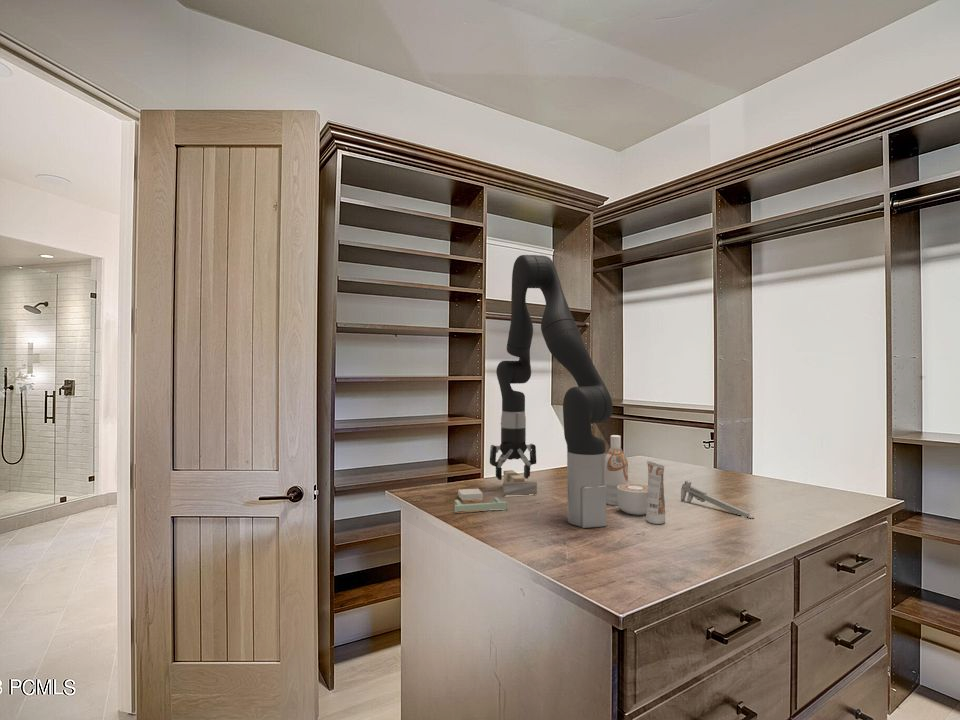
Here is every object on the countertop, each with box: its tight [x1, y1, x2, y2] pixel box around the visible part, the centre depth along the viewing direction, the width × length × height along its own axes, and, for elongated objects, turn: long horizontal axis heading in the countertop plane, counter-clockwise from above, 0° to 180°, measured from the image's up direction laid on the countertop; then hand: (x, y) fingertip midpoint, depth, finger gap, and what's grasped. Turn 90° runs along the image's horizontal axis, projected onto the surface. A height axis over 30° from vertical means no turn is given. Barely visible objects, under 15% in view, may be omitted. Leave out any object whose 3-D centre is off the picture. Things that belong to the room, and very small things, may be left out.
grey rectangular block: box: [502, 470, 538, 496], centre depth 159 cm, size 13×10×5 cm
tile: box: [457, 488, 484, 500], centre depth 149 cm, size 6×6×2 cm
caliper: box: [680, 480, 754, 519], centre depth 138 cm, size 20×1×6 cm, turn 33°
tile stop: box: [454, 496, 508, 513], centre depth 139 cm, size 6×14×2 cm, turn 103°
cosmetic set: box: [605, 434, 666, 525], centre depth 136 cm, size 25×9×19 cm, turn 16°
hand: (513, 478), depth 159 cm, fingers open, 8 cm apart
